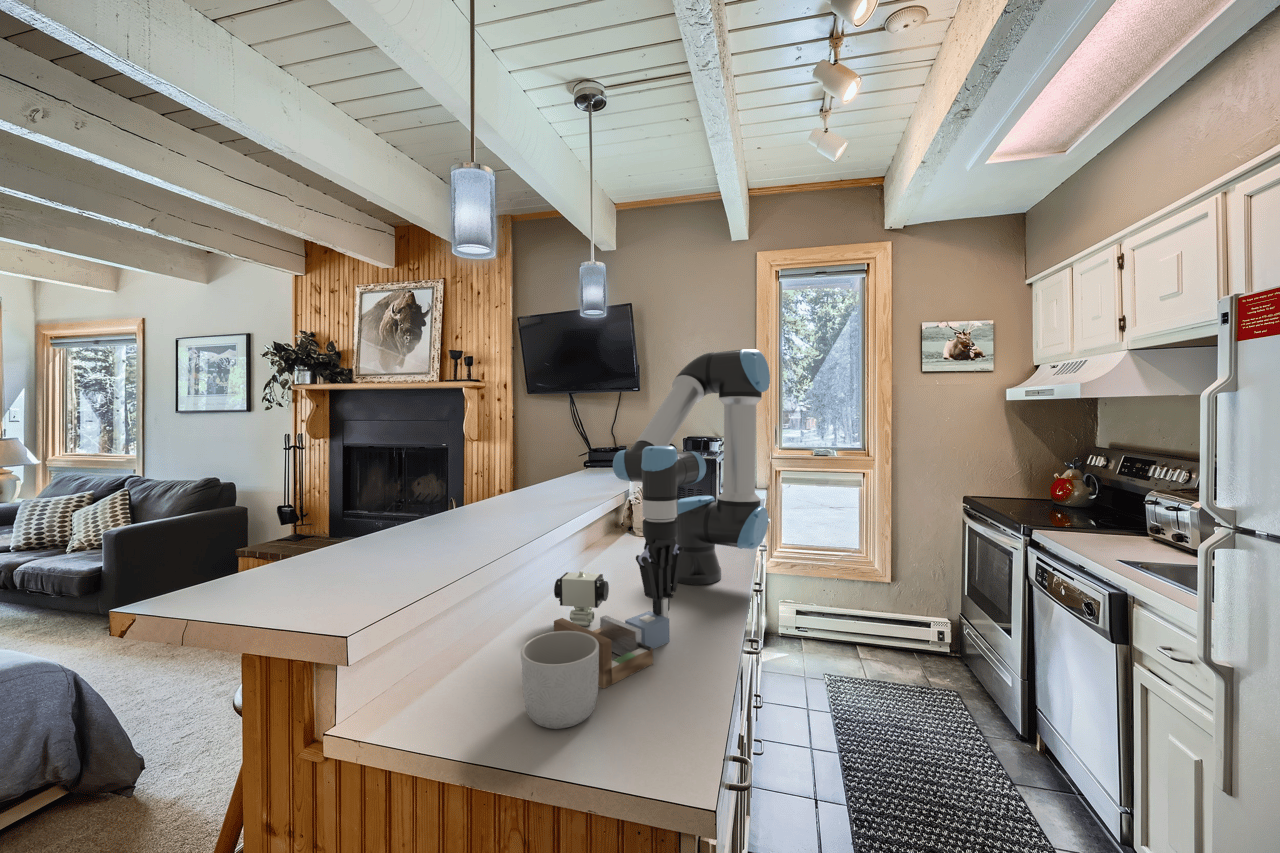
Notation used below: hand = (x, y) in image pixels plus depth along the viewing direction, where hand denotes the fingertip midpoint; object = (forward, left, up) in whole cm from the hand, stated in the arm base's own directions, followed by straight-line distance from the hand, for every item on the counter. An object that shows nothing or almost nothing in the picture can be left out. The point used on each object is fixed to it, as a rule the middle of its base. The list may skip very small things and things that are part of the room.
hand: (661, 627), depth 112 cm
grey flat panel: (+12, +1, -1) cm, 12 cm away
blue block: (+4, 0, -2) cm, 5 cm away
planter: (+32, +8, -2) cm, 33 cm away
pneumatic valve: (+7, -18, -2) cm, 20 cm away
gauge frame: (+16, 0, -2) cm, 16 cm away
